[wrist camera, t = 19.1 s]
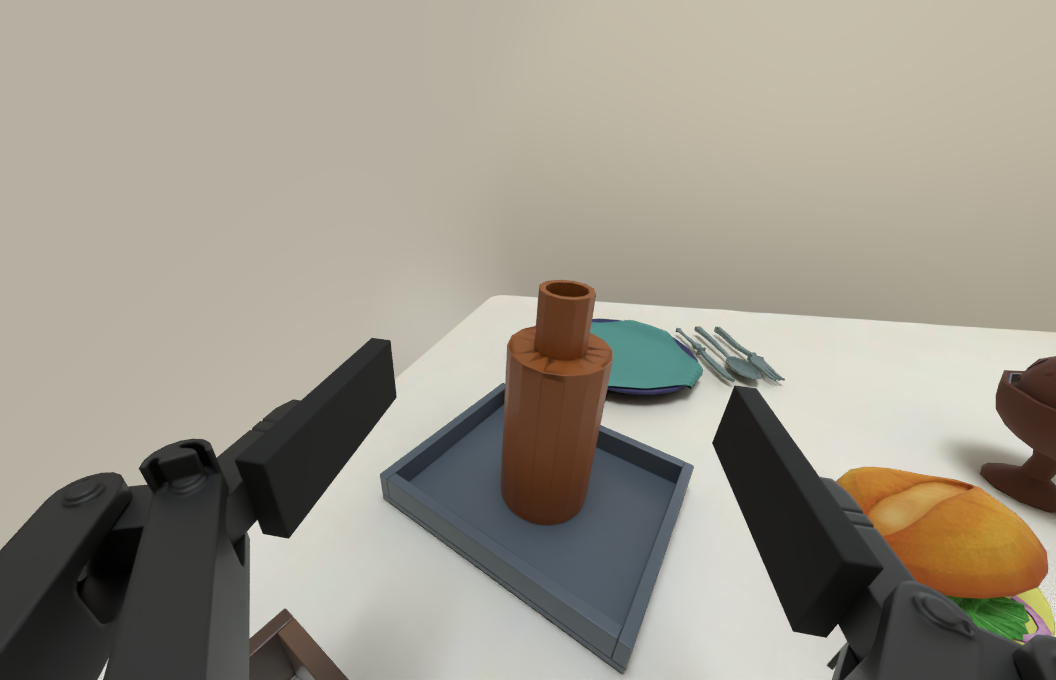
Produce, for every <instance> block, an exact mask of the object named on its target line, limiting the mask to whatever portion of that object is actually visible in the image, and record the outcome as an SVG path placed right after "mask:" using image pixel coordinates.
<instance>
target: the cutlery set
mask: <svg viewBox="0 0 1056 680" xmlns="http://www.w3.org/2000/svg"><path fill="white" fill-rule="evenodd" d="M680 329H681V328H676V332H679V333H680V334H681V335H683V336H684V337H685V338H686V339H687V340H688V341H689V342H690V343H691V344H692V347H693V349H696V350H697V354H696V355H702V356H703V358H704V359H705V360H706V361H707V362H708V363H709V364H710V365H711V366H712V367H713V368H714V369H715V370H716V371H717V372H718V373H720V374H721V375H722V376H723V377H724V378H726V379H728V380H730V381H732V382H734V381H735V379H734V378H733V377H732V376H731V375H730V374H729V373H728V372H727V371H725V370H724V369H723V368H722V367H721V366H720V365H719V364H718V363H717V362H716V361H714V360H713V359H712V358H711V357H710V356H709V355H708V354H707V353H706V352H705V349H706V348H702V347H701V344H698V343H695V342H694V341H693V340H692V339H691V338H689V337H688V336H686V335H685V334H684V333H683V332H682V331H681V330H680ZM695 331H696V332H698V333H699V334H700V335H702V336H703V337H704V338H705V339H707V340H708V341H709V342H710V343H712V344H713V345H714V346H715V347H716V348H717V349H718V350H719V351H720V352H721V353H722V354H723V355H724V356H725V357H726V358H727V359H726V363H727V365H728V366H729V367H730V369H731V370H732V371H734V372H735V373H737V374H739V375H742V376H744V377H747V378H749V379H761V374H760V373H759V372H758V370H757V369H759V370H760V371H761V372H763V373H764V374H765V375H766V376H768V377H769V378H771V379H773V380H774V381H776V380H785V379H784V378H782V377H781V376H780V375H778V374H777V373H776V372H775V371H774V370H773V369H772V368H771V367H770V366H769V365H768V364H767V363H766V362H765V361H764V359H763V357H759V356H757V355H756V353H751V352H749V351H748V350H747V349H745V348H743V347H742V346H740V345H739V344H738V343H737V342H736V341H735V340H734V339H732V338H731V337H730V336H729V335H728V334H727V333H726V332H725V331H724V330H723V329H722V328H721V327H715V330H714V331H715V332H716V333H717V334H719V335H720V336H721V337H723V338H724V339H725V340H726V341H727V342H728V343H729V344H730V345H732V346H733V347H734V348H735V349H737V350H738V351H740V352H742V353H744V354H745V355H747V356H748V358H747V360H748V361H749V363H750V364H749V363H747V362H746V361H744V360H742V359H739V358H736V357H733V356H729V355H728V354H727V353H726V351H725V350H724V349H723V348H722V347H721V346H720V345H719V344H718V343H717V342H716V341H715V340H714V339H713V338H712V337H711V336H710V335H709V334H708V333H707V332H705V331H704V330H703V329H702V328H701V327H695ZM590 333H592V334H594V335H596V336H598V337H599V338H601V339H603V340H604V341H605V342H606V343H607V344H608V345H609V346H610V348H611V349H612V350H613V362H612V367H611V373H610V378H609V383H608V388H607V390H611V391H615V392H619V393H627V394H641V395H655V394H662V393H670V392H675V391H677V390H679V389H682V388H684V387H686V386H687V387H688V388H690V389H691V388H693V386H694V385H695V383H696V382H697V380H698V379H699V378H700V376H701V375H702V372H703V369H702V367H701V365H700V364H699V363H698V360H697V359H696V358H695V356H694V355H693V353H692V352H691V351H690V349H688V348H687V347H686V346H684V345H683V344H682V343H680V342H679V341H678V340H676V339H675V338H673V337H671V335H670V334H669V333H668V332H667V331H664V330H661V329H659V328H656V327H653V326H650V325H647V324H644V323H640V322H637V321H633V320H625V321H620V320H610V319H592V323H591V329H590ZM752 365H753V366H752ZM756 368H757V369H756Z"/></svg>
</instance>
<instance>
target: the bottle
mask: <svg viewBox="0 0 1056 680" xmlns="http://www.w3.org/2000/svg"><path fill="white" fill-rule="evenodd" d="M595 297H596V293H595V290H594V288H592V287H590V286H588V285H586V284H583V283H579V282H575V281H567V280H554V281H547V282H544V283H542V284H540V285H539V296H538V308H537V319H536V326H534V327H530V328H525V329H522V330H520V331H519V332H517V333H515V334H514V335H512V336H511V338H510V340H509V342H508V344H507V362H506V383H505V404H504V425H503V446H502V466H501V491H502V496H503V499H504V501H505V503H506V504H507V506H508V507H509V509H510V510H511V511H512V512H513V513H514V514H516V515H517V516H518V517H520V518H522V519H524V520H525V521H528V522H530V523H534V524H539V525H556V524H560V523H563V522H566V521H568V520H570V519H571V518H573V517H574V516H575V515H576V514H577V513H578V512H579V511H580V510H581V508H582V506H583V504H584V501H585V498H586V494H587V489H588V484H589V479H590V474H591V469H592V464H593V459H594V454H595V449H596V444H597V439H598V433H599V428H600V423H601V418H602V413H603V408H604V403H605V398H606V393H607V388H608V383H609V378H610V373H611V367H612V362H613V350H612V349H611V348H610V346H609V345H608V344H607V343H606V342H605V341H604V340H603V339H601V338H599V337H598V336H596V335H594V334H592V333H590V329H591V323H592V317H593V310H594V304H595Z"/></svg>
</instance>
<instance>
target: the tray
mask: <svg viewBox="0 0 1056 680" xmlns="http://www.w3.org/2000/svg"><path fill="white" fill-rule="evenodd" d="M504 404H505V384H504V383H502V384H501V385H499V386H498V387H497V388H495V389H494V390H493V391H491V392H490V393H489V394H487V395H486V396H485V397H483V398H482V399H480V400H479V401H478V402H476V403H475V404H474V405H472V406H471V407H470V408H468V409H467V410H466V411H464V412H463V413H462V414H460V415H459V416H458V417H456V418H455V419H454V420H452V421H451V422H449V423H448V424H447V425H445V426H444V427H443V428H441V429H440V430H439V431H437V432H436V433H435V434H433V435H432V436H431V437H429V438H428V439H427V440H425V441H424V442H423V443H421V444H420V445H419V446H417V447H416V448H414V449H413V450H412V451H410V452H409V453H408V454H406V455H405V456H404V457H402V458H401V459H400V460H398V461H397V462H396V463H394V464H393V465H392V466H390V467H389V468H388V469H386V470H385V471H383V472H382V473H381V474H380V479H381V485H382V492H383V497H384V499H386V500H387V501H388V502H390V503H391V504H392V505H394V506H395V507H396V508H398V509H399V510H401V511H402V512H403V513H405V514H406V515H407V516H409V517H410V518H411V519H413V520H414V521H415V522H417V523H418V524H420V525H421V526H422V527H424V528H425V529H426V530H428V531H429V532H430V533H432V534H433V535H434V536H436V537H437V538H439V539H440V540H441V541H443V542H444V543H445V544H447V545H448V546H449V547H451V548H452V549H453V550H455V551H456V552H458V553H459V554H460V555H462V556H463V557H464V558H466V559H467V560H468V561H470V562H471V563H472V564H474V565H475V566H477V567H478V568H479V569H481V570H482V571H483V572H485V573H486V574H487V575H489V576H490V577H492V578H493V579H494V580H496V581H497V582H498V583H500V584H501V585H502V586H504V587H505V588H506V589H508V590H509V591H511V592H512V593H513V594H515V595H516V596H517V597H519V598H520V599H521V600H523V601H524V602H525V603H527V604H528V605H530V606H531V607H532V608H534V609H535V610H536V611H538V612H539V613H540V614H542V615H543V616H544V617H546V618H547V619H549V620H550V621H551V622H553V623H554V624H555V625H557V626H558V627H559V628H561V629H562V630H563V631H565V632H566V633H568V634H569V635H570V636H572V637H573V638H574V639H576V640H577V641H578V642H580V643H581V644H582V645H584V646H585V647H587V648H588V649H589V650H591V651H592V652H593V653H595V654H596V655H597V656H599V657H600V658H602V659H603V660H604V661H606V662H607V663H608V664H610V665H611V666H612V667H614V668H615V669H616V670H618V671H619V672H621V673H622V674H623V673H624V671H625V668H626V666H627V663H628V661H629V658H630V655H631V653H632V650H633V647H634V644H635V641H636V638H637V635H638V632H639V629H640V626H641V623H642V620H643V617H644V614H645V611H646V608H647V605H648V602H649V599H650V596H651V593H652V590H653V588H654V585H655V582H656V579H657V576H658V573H659V570H660V567H661V564H662V561H663V558H664V555H665V552H666V549H667V546H668V543H669V540H670V537H671V534H672V531H673V528H674V525H675V522H676V519H677V516H678V513H679V510H680V507H681V504H682V501H683V498H684V495H685V492H686V489H687V486H688V483H689V480H690V478H691V475H692V472H693V469H694V466H693V465H691V464H689V463H686V462H684V461H682V460H680V459H678V458H675V457H673V456H671V455H668V454H666V453H664V452H661V451H659V450H657V449H655V448H652V447H650V446H648V445H645V444H643V443H641V442H638V441H636V440H634V439H631V438H629V437H627V436H625V435H622V434H620V433H618V432H615V431H613V430H611V429H608V428H606V427H604V426H601V425H600V428H599V433H598V439H597V444H596V449H595V454H594V459H593V464H592V469H591V474H590V479H589V484H588V489H587V494H586V498H585V501H584V504H583V506H582V508H581V510H580V511H579V512H578V513H577V514H576V515H575V516H574V517H573V518H571V519H570V520H568V521H566V522H563V523H560V524H556V525H539V524H534V523H530V522H528V521H525V520H524V519H522V518H520V517H518V516H517V515H516V514H514V513H513V512H512V511H511V510H510V509H509V507H508V506H507V504H506V503H505V501H504V499H503V496H502V491H501V466H502V446H503V425H504Z"/></svg>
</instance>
